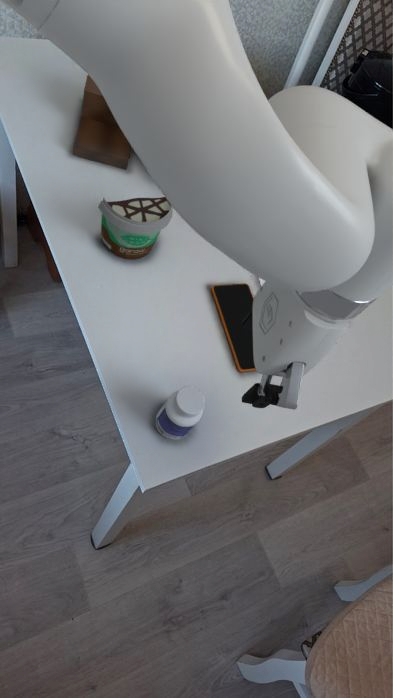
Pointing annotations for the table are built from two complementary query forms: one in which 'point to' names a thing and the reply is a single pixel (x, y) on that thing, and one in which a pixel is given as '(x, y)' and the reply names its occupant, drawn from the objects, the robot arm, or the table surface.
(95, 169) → the table surface
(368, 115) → the robot arm
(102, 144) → the step shelf
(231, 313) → the smartphone
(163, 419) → the pill bottle
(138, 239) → the food container
